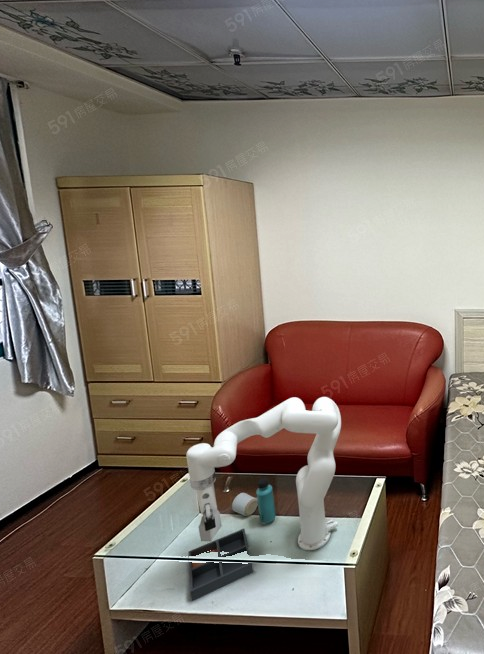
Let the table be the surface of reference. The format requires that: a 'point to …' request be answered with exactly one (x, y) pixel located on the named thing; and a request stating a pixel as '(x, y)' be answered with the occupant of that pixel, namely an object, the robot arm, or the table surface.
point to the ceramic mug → (244, 504)
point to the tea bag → (212, 532)
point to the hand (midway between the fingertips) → (209, 520)
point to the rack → (218, 565)
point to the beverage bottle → (265, 501)
